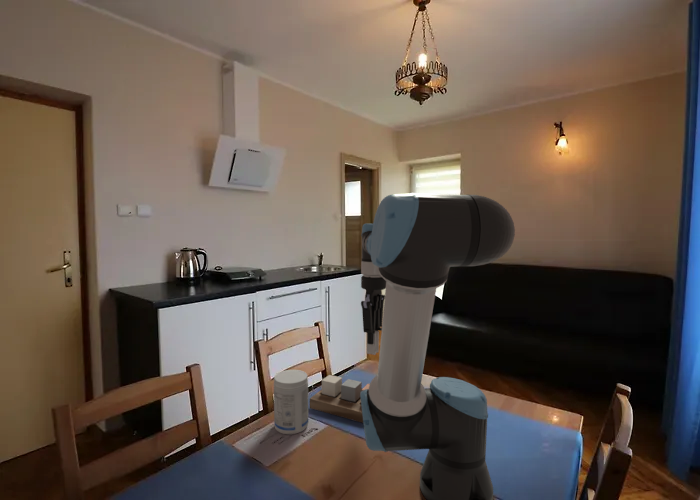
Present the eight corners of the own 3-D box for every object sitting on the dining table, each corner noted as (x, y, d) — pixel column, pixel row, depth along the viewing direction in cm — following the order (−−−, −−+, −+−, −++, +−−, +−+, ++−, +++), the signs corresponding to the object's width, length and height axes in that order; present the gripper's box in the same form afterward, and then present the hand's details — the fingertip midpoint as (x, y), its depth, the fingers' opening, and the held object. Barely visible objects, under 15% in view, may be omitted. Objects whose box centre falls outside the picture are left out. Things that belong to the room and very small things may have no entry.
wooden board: (375, 426, 103) (375, 415, 103) (309, 408, 113) (309, 398, 112) (391, 404, 115) (392, 395, 115) (331, 389, 125) (331, 381, 125)
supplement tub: (297, 413, 109) (297, 366, 108) (315, 427, 102) (315, 376, 101) (267, 424, 103) (267, 374, 102) (284, 440, 96) (284, 386, 95)
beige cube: (334, 397, 114) (334, 383, 113) (321, 393, 116) (321, 380, 116) (341, 390, 118) (342, 377, 118) (329, 387, 120) (329, 374, 120)
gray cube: (354, 402, 111) (355, 388, 110) (341, 398, 113) (341, 384, 112) (361, 395, 115) (361, 382, 115) (347, 392, 117) (348, 379, 117)
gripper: (376, 279, 100) (375, 362, 102) (394, 273, 113) (392, 347, 114) (351, 277, 103) (351, 358, 105) (371, 271, 116) (370, 343, 118)
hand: (372, 352), depth 110 cm, fingers closed
